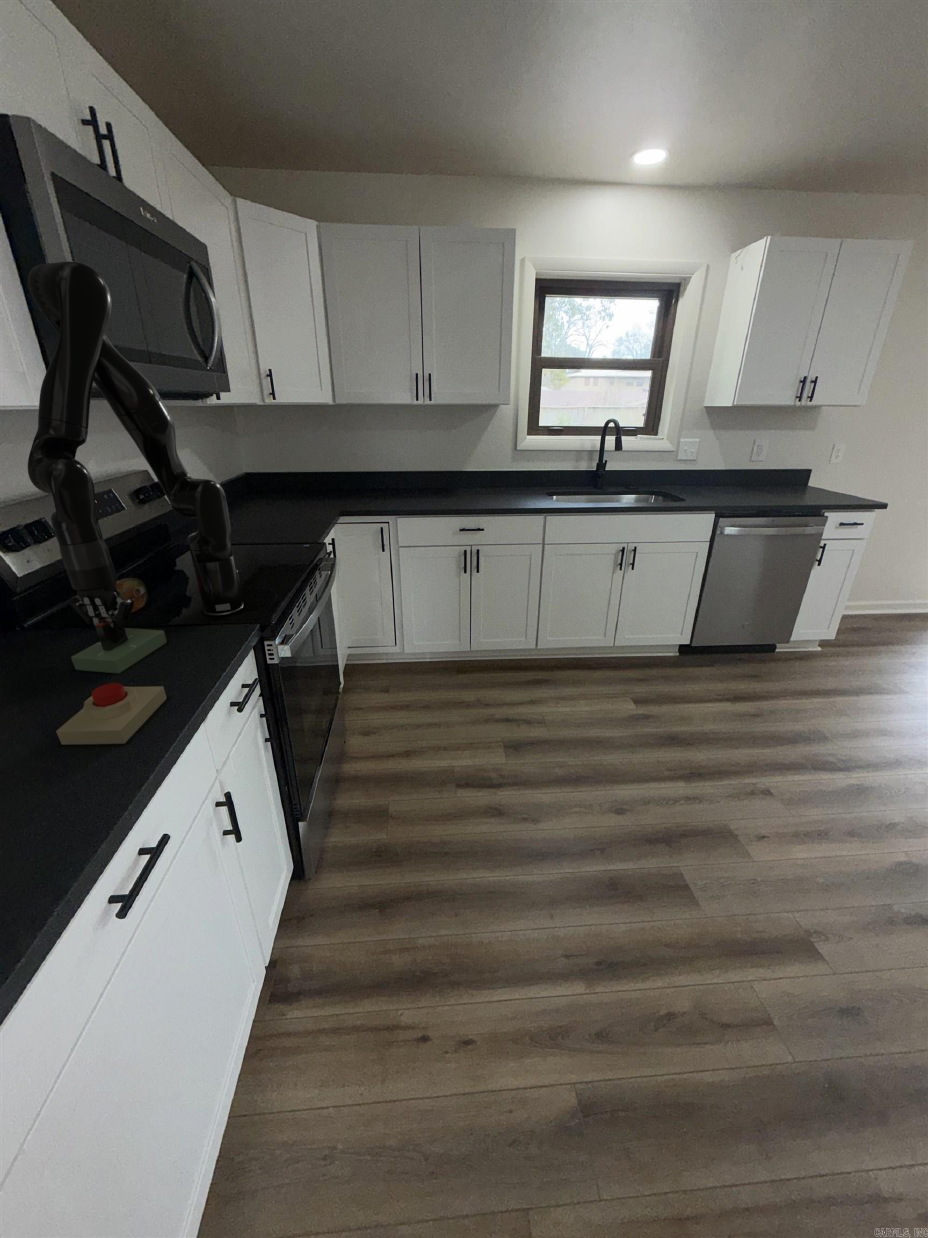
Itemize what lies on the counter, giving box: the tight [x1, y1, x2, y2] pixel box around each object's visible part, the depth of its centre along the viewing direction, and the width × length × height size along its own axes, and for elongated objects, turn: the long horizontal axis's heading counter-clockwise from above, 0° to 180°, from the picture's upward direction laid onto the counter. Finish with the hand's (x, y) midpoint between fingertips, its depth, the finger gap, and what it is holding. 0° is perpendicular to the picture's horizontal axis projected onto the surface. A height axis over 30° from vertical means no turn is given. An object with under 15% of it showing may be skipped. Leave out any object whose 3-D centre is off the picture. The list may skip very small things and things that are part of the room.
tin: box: [100, 577, 149, 617], centre depth 125 cm, size 15×3×8 cm, turn 168°
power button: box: [91, 682, 126, 707], centre depth 83 cm, size 4×4×2 cm
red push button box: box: [55, 685, 168, 746], centre depth 84 cm, size 13×10×4 cm
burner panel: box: [70, 627, 168, 674], centre depth 106 cm, size 14×10×3 cm
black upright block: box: [94, 617, 128, 651], centre depth 103 cm, size 5×2×6 cm, turn 172°
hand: (114, 641), depth 104 cm, fingers closed on black upright block
